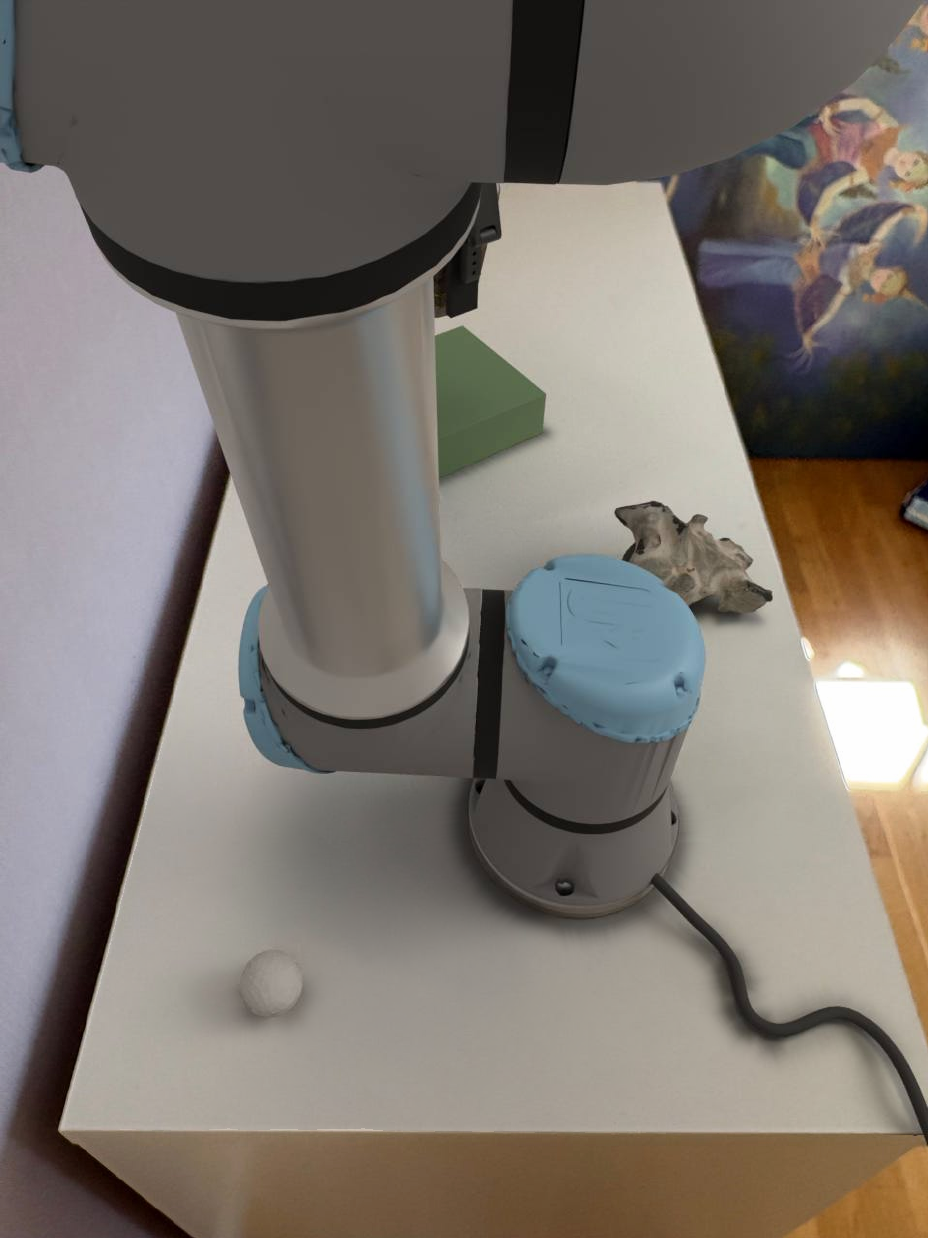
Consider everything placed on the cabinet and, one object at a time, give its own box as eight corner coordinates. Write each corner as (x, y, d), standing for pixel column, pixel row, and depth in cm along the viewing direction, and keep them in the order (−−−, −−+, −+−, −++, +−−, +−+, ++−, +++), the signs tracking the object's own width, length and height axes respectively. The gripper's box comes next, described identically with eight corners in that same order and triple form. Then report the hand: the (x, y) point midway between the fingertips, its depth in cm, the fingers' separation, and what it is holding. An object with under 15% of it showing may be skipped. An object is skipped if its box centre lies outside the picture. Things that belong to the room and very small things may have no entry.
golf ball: (233, 1013, 62) (222, 991, 59) (261, 956, 64) (252, 931, 61) (289, 1035, 61) (281, 1013, 58) (316, 975, 63) (309, 952, 60)
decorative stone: (779, 625, 80) (688, 673, 87) (779, 553, 86) (695, 604, 93) (645, 511, 75) (559, 572, 82) (655, 444, 81) (575, 505, 88)
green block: (542, 432, 101) (546, 393, 98) (423, 485, 96) (423, 445, 92) (461, 363, 109) (462, 324, 106) (347, 408, 104) (344, 368, 100)
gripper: (569, 23, 61) (541, 331, 78) (383, -68, 73) (394, 217, 90) (472, 47, 58) (465, 361, 75) (295, -52, 70) (324, 239, 87)
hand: (427, 283), depth 82 cm, fingers closed on ceramic cup, 10 cm apart
